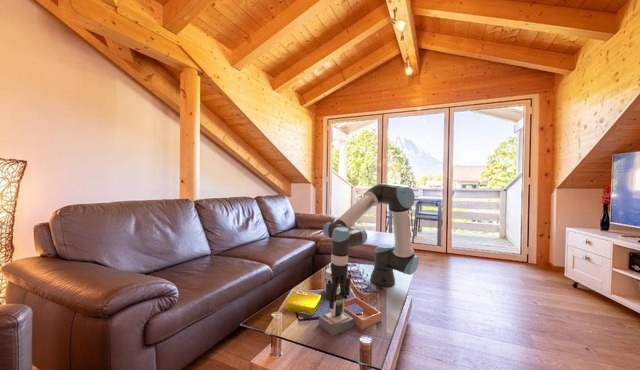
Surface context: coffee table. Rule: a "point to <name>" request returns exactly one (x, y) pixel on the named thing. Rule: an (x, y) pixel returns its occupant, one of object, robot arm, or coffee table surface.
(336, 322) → the pad
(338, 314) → the battery cell
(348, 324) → the box
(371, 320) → the tray
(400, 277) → the coffee table surface
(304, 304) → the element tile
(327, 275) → the cup
